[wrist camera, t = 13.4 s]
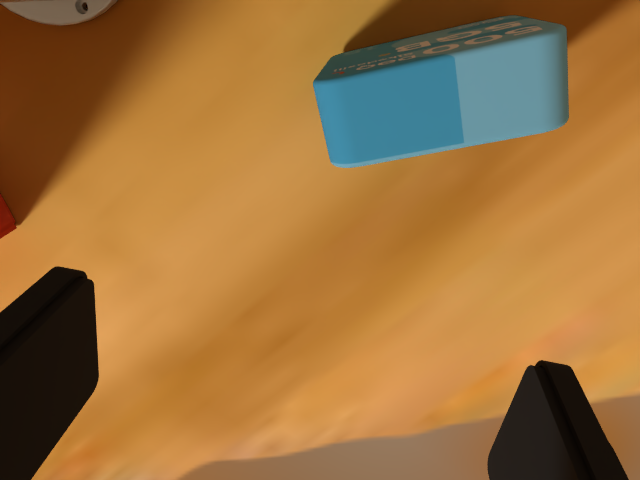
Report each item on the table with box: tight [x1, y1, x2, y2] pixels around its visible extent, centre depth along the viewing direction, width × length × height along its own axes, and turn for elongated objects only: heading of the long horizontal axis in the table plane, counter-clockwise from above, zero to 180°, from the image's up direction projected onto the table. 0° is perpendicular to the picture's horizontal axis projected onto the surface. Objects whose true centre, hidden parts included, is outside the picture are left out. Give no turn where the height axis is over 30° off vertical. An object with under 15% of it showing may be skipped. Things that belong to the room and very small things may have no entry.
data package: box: [313, 15, 569, 168], centre depth 30 cm, size 12×4×12 cm, turn 103°
